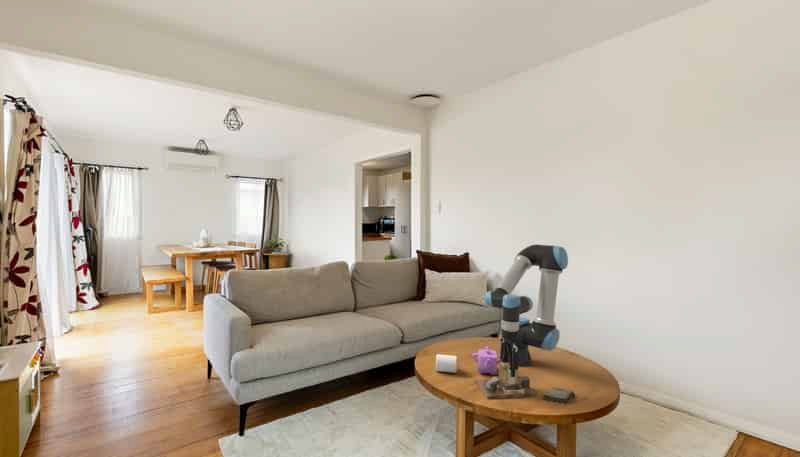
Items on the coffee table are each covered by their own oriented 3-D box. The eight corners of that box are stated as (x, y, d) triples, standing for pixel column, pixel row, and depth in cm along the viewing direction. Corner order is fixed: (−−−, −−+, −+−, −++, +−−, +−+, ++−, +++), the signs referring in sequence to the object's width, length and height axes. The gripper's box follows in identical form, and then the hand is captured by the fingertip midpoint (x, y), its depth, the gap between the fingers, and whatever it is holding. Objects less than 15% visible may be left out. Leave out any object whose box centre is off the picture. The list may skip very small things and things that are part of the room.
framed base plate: (520, 380, 175) (520, 375, 174) (537, 396, 160) (537, 390, 160) (474, 383, 171) (474, 377, 171) (487, 398, 156) (487, 392, 156)
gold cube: (511, 377, 169) (511, 364, 169) (517, 383, 163) (517, 370, 163) (498, 378, 168) (499, 365, 168) (504, 384, 162) (505, 370, 162)
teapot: (466, 368, 188) (467, 347, 187) (486, 363, 194) (487, 343, 194) (487, 380, 175) (488, 357, 174) (507, 374, 181) (508, 353, 181)
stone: (558, 390, 167) (558, 383, 167) (576, 397, 160) (577, 390, 160) (541, 400, 157) (541, 393, 157) (559, 408, 151) (559, 400, 151)
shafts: (526, 383, 169) (526, 375, 169) (533, 390, 163) (533, 381, 163) (481, 385, 165) (482, 377, 165) (487, 392, 159) (487, 383, 159)
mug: (455, 375, 178) (456, 359, 178) (435, 373, 180) (436, 357, 180) (457, 366, 190) (457, 351, 190) (437, 364, 192) (438, 349, 192)
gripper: (493, 323, 174) (491, 371, 174) (512, 336, 155) (509, 390, 155) (508, 323, 175) (506, 371, 175) (528, 336, 156) (526, 389, 157)
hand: (508, 379), depth 165 cm, fingers closed on gold cube, 6 cm apart
